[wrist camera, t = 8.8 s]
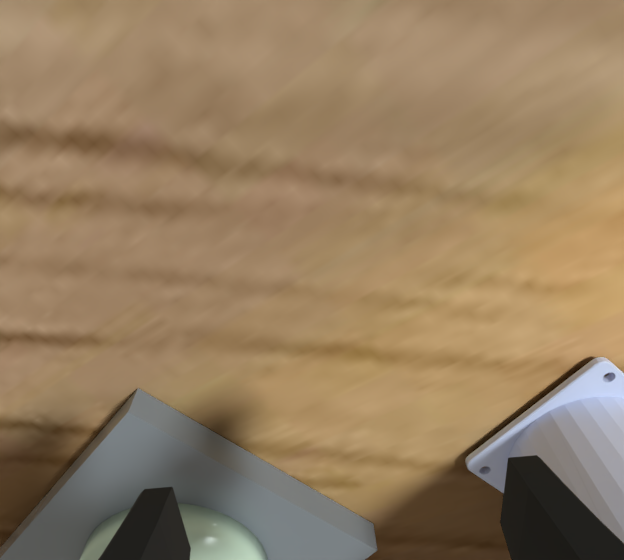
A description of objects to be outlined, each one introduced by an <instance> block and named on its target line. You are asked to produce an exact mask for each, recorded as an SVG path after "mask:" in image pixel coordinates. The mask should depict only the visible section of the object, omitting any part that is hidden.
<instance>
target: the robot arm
mask: <svg viewBox="0 0 624 560" xmlns="http://www.w3.org/2000/svg"><path fill="white" fill-rule="evenodd" d="M607 373H609V374H608V375H607V376H604V375H605V374H607ZM465 462H466V466H467V468H468V470H469V471H471V472H472V473H474V474H475V475H477V476H478V477H480V478H481V479H483V480H484V481H485V482H487V483H488V484H490V485H491V486H493V487H494V488H496V489H497V490H499V491H500V492H502V493H503V494H504V496H503V504H502V512H501V520H500V523H501V526H502V530H503V533H504V536H505V540H506V543H507V546H508V550H509V553H510V556H511V559H512V560H624V373H623V372H622V371H621V370H620V369H618V368H617V367H616V366H615V365H614V364H613V363H612V362H611V361H609V360H608V359H607V358H605V357H598V358H595V359H593V360H591V361H590V362H588V363H587V364H586V365H585V366H583V367H582V368H581V369H579V370H578V371H577V372H576V373H574V374H573V375H572V376H570V377H569V378H568V379H566V380H565V381H564V382H563V383H561V384H560V385H559V386H557V387H556V388H555V389H554V390H552V391H551V392H550V393H548V394H547V395H546V396H544V397H543V398H542V399H541V400H539V401H538V402H537V403H535V404H534V405H533V406H532V407H530V408H529V409H528V410H526V411H525V412H524V413H522V414H521V415H520V416H519V417H517V418H516V419H515V420H513V421H512V422H511V423H510V424H508V425H507V426H506V427H504V428H503V429H502V430H500V431H499V432H498V433H497V434H495V435H494V436H493V437H491V438H490V439H489V440H488V441H486V442H485V443H484V444H482V445H481V446H480V447H478V448H477V449H476V450H475V451H473V452H472V453H471V454H469V455H468V456H467V457H466V460H465ZM485 466H486V467H485ZM482 467H484V468H482ZM190 552H191V547H190V544H189V541H188V537H187V534H186V530H185V527H184V524H183V520H182V517H181V514H180V510H179V507H178V503H177V500H176V497H175V493H174V490H173V487H163V488H151V489H144V490H143V491H142V492H141V493H140V495H139V496H138V498H137V500H136V501H135V503H134V505H133V506H132V508H131V509H130V511H129V513H128V514H127V516H126V517H125V519H124V521H123V522H122V524H121V525H120V527H119V529H118V530H117V532H116V533H115V535H114V536H113V538H112V539H111V541H110V543H109V544H108V546H107V547H106V549H105V550H104V552H103V553H102V555H101V556H100V558H99V559H98V560H190Z"/></svg>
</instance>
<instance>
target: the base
mask: <svg viewBox="0 0 624 560" xmlns="http://www.w3.org/2000/svg"><path fill="white" fill-rule="evenodd" d="M163 487H173V490H174V493H175V497H176V500H177V503H178V507H179V510H180V514H181V517H182V520H183V524H184V527H185V530H186V534H187V537H188V541H189V544H190V547H191V552H190V560H365V559H367V558H368V557H369V556H371V555H372V554H373V553H375V552H376V551H377V545H376V538H375V531H374V524H373V523H371V522H369V521H368V520H366V519H364V518H362V517H361V516H359V515H357V514H355V513H354V512H352V511H350V510H348V509H347V508H345V507H343V506H341V505H340V504H338V503H336V502H335V501H333V500H331V499H329V498H328V497H326V496H324V495H322V494H321V493H319V492H317V491H315V490H314V489H312V488H310V487H308V486H307V485H305V484H303V483H302V482H300V481H298V480H296V479H295V478H293V477H291V476H289V475H288V474H286V473H284V472H282V471H281V470H279V469H277V468H276V467H274V466H272V465H270V464H269V463H267V462H265V461H263V460H262V459H260V458H258V457H256V456H255V455H253V454H251V453H249V452H248V451H246V450H244V449H243V448H241V447H239V446H237V445H236V444H234V443H232V442H230V441H229V440H227V439H225V438H223V437H222V436H220V435H218V434H217V433H215V432H213V431H211V430H210V429H208V428H206V427H204V426H203V425H201V424H199V423H197V422H196V421H194V420H192V419H190V418H189V417H187V416H185V415H184V414H182V413H180V412H178V411H177V410H175V409H173V408H171V407H170V406H168V405H166V404H164V403H163V402H161V401H159V400H158V399H156V398H154V397H152V396H151V395H149V394H147V393H145V392H144V391H142V390H140V389H137V390H136V391H135V392H134V393H133V395H132V396H131V397H130V398H129V399H128V400H127V402H126V403H125V404H124V405H123V406H122V407H121V409H120V410H119V411H118V412H117V413H116V414H115V415H114V417H113V418H112V419H111V420H110V421H109V422H108V424H107V425H106V426H105V427H104V428H103V429H102V431H101V432H100V433H99V434H98V435H97V436H96V437H95V439H94V440H93V441H92V442H91V443H90V444H89V446H88V447H87V448H86V449H85V450H84V451H83V453H82V454H81V455H80V456H79V457H78V458H77V459H76V461H75V462H74V463H73V464H72V465H71V466H70V468H69V469H68V470H67V471H66V472H65V473H64V475H63V476H62V477H61V478H60V479H59V480H58V481H57V483H56V484H55V485H54V486H53V487H52V488H51V490H50V491H49V492H48V493H47V494H46V495H45V497H44V498H43V499H42V500H41V501H40V502H39V503H38V505H37V506H36V507H35V508H34V509H33V510H32V512H31V513H30V514H29V515H28V516H27V517H26V519H25V520H24V521H23V522H22V523H21V524H20V525H19V527H18V528H17V529H16V530H15V531H14V532H13V534H12V535H11V536H10V537H9V538H8V539H7V541H6V542H5V543H4V544H3V545H2V546H1V547H0V560H98V559H99V558H100V556H101V555H102V553H103V552H104V550H105V549H106V547H107V546H108V544H109V543H110V541H111V539H112V538H113V536H114V535H115V533H116V532H117V530H118V529H119V527H120V525H121V524H122V522H123V521H124V519H125V517H126V516H127V514H128V513H129V511H130V509H131V508H132V506H133V505H134V503H135V501H136V500H137V498H138V496H139V495H140V493H141V492H142V491H143V490H144V489H151V488H163Z"/></svg>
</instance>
